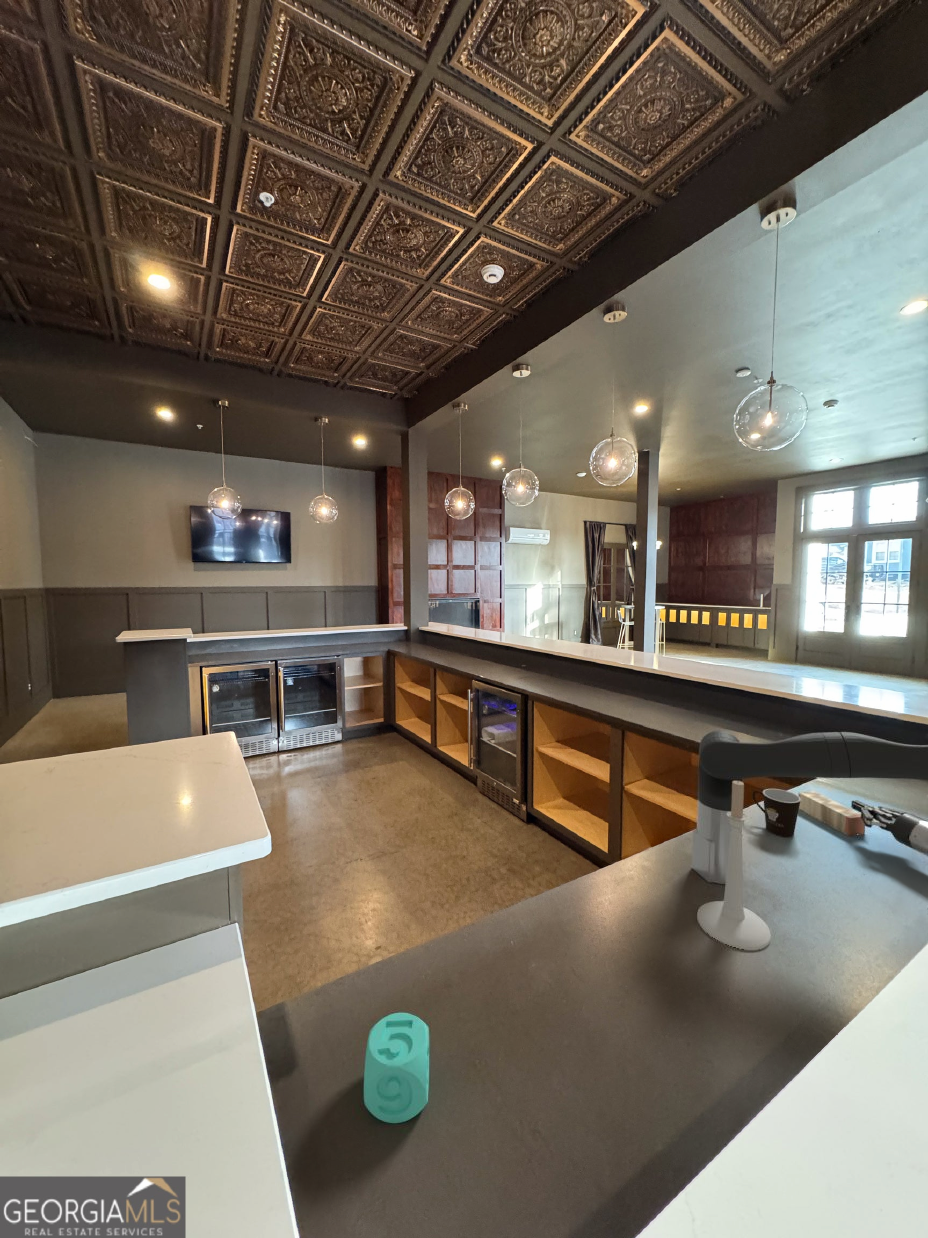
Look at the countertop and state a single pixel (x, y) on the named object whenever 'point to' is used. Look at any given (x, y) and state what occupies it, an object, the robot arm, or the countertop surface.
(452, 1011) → the countertop surface
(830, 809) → the maple block
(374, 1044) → the decorative dice
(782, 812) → the coffee mug
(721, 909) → the candlestick
